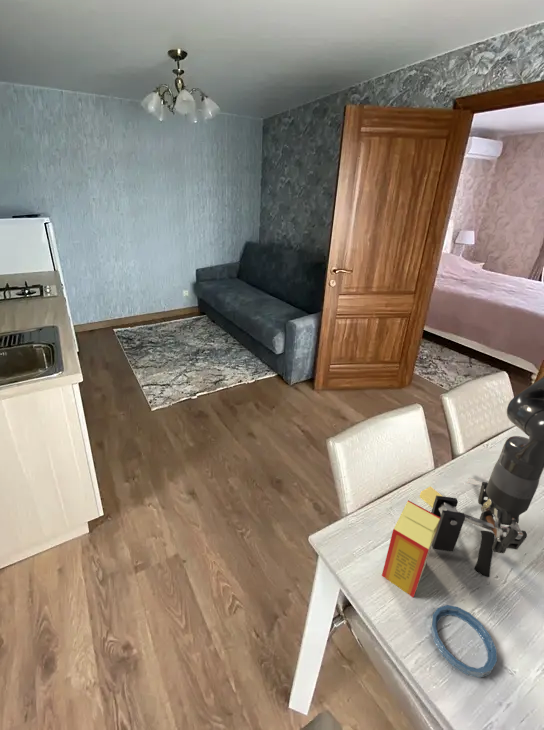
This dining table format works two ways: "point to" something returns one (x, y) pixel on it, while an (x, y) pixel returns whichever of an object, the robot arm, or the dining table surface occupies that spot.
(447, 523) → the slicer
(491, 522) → the slicer blade
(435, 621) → the blue hoop band
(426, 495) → the butter pat
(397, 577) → the baking soda box
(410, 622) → the dining table surface
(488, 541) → the kitchen cleaver
